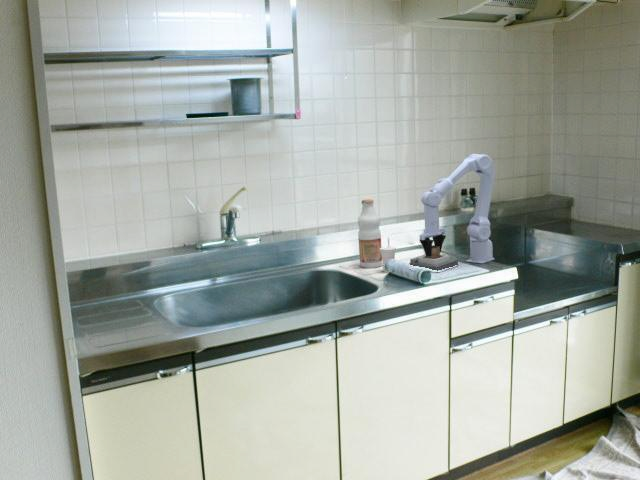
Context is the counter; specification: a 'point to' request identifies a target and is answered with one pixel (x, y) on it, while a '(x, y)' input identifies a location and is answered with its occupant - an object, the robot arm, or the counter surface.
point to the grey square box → (434, 262)
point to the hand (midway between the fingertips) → (433, 254)
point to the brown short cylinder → (435, 252)
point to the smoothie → (387, 253)
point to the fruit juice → (369, 236)
